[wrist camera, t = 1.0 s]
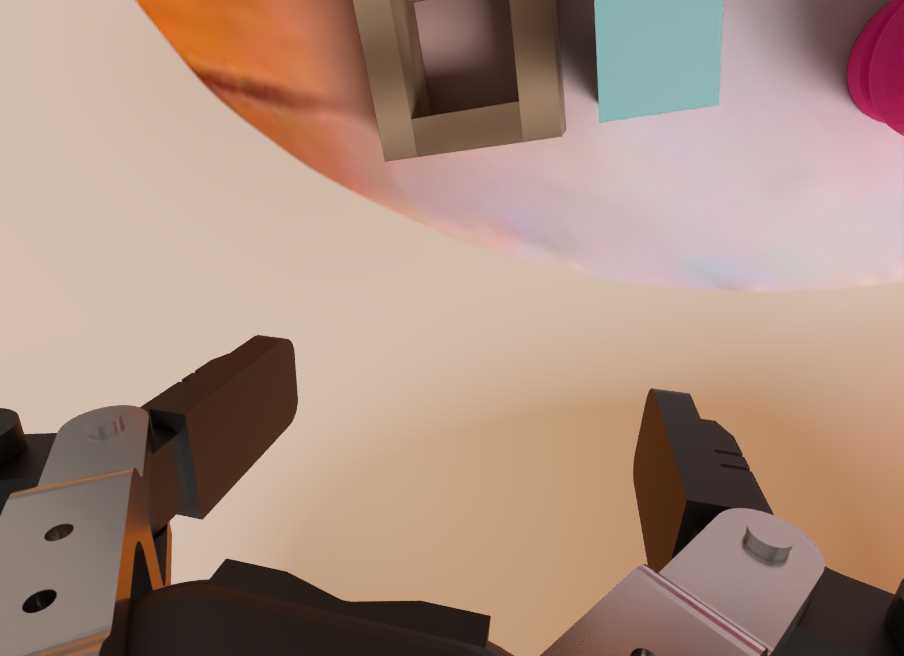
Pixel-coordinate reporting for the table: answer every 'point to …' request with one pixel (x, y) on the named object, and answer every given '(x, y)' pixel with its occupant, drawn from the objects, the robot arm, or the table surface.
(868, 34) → the pepper mill
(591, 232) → the table surface
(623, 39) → the peg
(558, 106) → the socket block
